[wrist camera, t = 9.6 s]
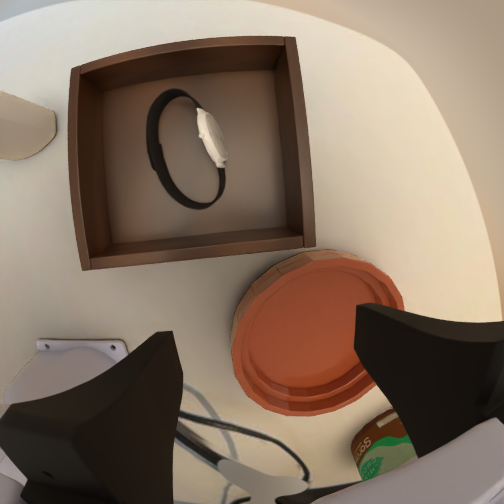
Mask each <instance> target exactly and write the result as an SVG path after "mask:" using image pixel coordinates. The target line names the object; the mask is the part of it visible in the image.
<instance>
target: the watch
mask: <svg viewBox="0 0 504 504" xmlns="http://www.w3.org/2000/svg"><path fill="white" fill-rule="evenodd" d="M178 97H188V98H190V99H191V100H192V101H193V103H194V105H195V107H196V110H197V112H198V115H197V124H198V129H199V133H200V134H199V137H200V138H202V140H203V143H204V145H205V147H206V150H207V152H208V153H209V155H210V157H211V158H212V160H213V161H214V162H215V163H216V166H217V171H218V175H219V189H218V193H217V195H216V197H215V199H214V200H213V201H212V202H208V203H199V202H195V201H193V200H191V199H189V198H187V197H186V196H185V195H183V194H182V193H181V192H180V190H179V189H178V188H177V187H176V185H175V184H174V182H173V181H172V179H171V177H170V175H169V172H168V170H167V167H166V164H165V161H164V158H163V152H162V146H161V144H159V138H158V123H159V118H160V115H161V113H162V111H163V110H164V108H165V106H166V105H167V104H168V103H169V102H170V101H172V100H173V99H175V98H178ZM146 145H147V153H148V156H149V160H150V164H151V167H152V169H153V170H154V171H156V173H157V176H158V178H159V180H160V182H161V184H162V186H163V187H164V188H165V190H166V191H167V193H168V194H169V195H170V196H171V197H172V198H173V199H174V200H175V201H177V202H178V203H180V204H181V205H183V206H185V207H187V208H190V209H196V210H201V209H206V208H208V207H210V206H211V205H212V204H214V203H215V202H216V201H217V200H218V199H219V198H220V197H221V196H222V194H223V192H224V189H225V182H226V175H225V168H224V167H225V164H224V161H226V160H227V158H228V157H227V150H226V145H225V142H224V139H223V136H222V134H221V131H220V129H219V127H218V125H217V123H216V121H215V120H214V118H213V117H212V116H211V115H210V114H209V113H208V112H205V111H204V109H203V108H202V106H201V105H200V104H199V103H198V101H197V100H195V99H194V98H193V97H192V96H191V95H190V94H189V93H187V92H186V91H184V90H182V89H178V88H171V89H168V90H166V91H164V92H162V93H161V94H160V95H159V96H158V97H157V98H156V99H155V100H154V102H153V103H152V105H151V107H150V109H149V112H148V115H147V121H146Z"/></svg>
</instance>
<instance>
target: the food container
mask: <svg viewBox="0 0 504 504" xmlns="http://www.w3.org/2000/svg"><path fill="white" fill-rule="evenodd" d="M351 452H352V454H353V457H354V460H355V462H356V465H357V468H358V471H359V473H360V476H361V479H362V481H363V482H364V481H367V480H369V479H372V478H375V477H378V476H380V475H383V474H385V473H388V472H390V471H392V470H395V469H397V468H399V467H402V466H404V465H406V464H408V463H410V462H413V461H415V460H417V459H418V457H417V455H416V452H415V450H414V447H413V445H412V443H411V440H410V438H409V436H408V434H407V432H406V430H405V428H404V426H403V424H402V422H401V420H400V418H399V417H398V415H397V413H396V411H395V409H394V408H393V409H391V410H388V411H386V412H385V413H383V414H381V415H379V416H378V417H376V418H375V419H373V420H372V421H371V422H369V423H368V424H367V425H366V426H364V427H363V429H362V430H361V431H360V432H359V433H358V434H357V435H356V436H355V438H354V440H353V441H352V444H351Z"/></svg>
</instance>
